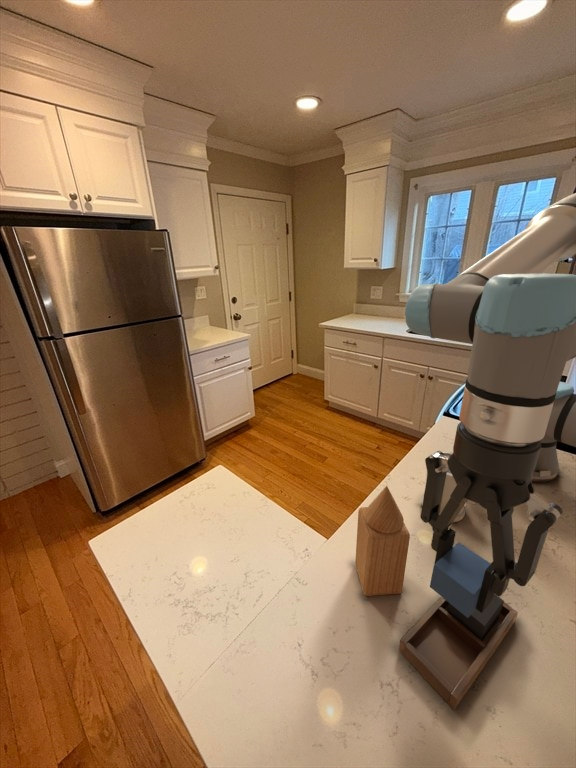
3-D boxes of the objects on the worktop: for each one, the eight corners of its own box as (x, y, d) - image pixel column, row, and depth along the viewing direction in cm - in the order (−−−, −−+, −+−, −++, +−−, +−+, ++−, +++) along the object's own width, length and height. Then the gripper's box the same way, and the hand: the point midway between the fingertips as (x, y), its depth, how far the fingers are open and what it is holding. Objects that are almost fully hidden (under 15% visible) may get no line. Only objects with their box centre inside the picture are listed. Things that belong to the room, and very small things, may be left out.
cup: (459, 494, 75) (468, 450, 71) (481, 523, 67) (492, 476, 62) (414, 495, 75) (420, 451, 71) (431, 525, 67) (438, 477, 63)
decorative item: (364, 598, 53) (371, 501, 46) (354, 562, 59) (359, 473, 52) (403, 595, 53) (417, 498, 46) (389, 560, 59) (399, 470, 52)
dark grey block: (465, 593, 53) (470, 575, 51) (498, 618, 49) (504, 600, 48) (446, 615, 50) (449, 597, 48) (479, 644, 46) (484, 626, 44)
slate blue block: (453, 563, 45) (458, 541, 44) (491, 590, 41) (497, 567, 40) (429, 586, 42) (433, 564, 41) (467, 618, 38) (474, 595, 37)
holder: (461, 581, 55) (463, 572, 54) (515, 621, 49) (518, 611, 48) (398, 649, 46) (399, 640, 45) (454, 710, 40) (457, 700, 39)
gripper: (402, 410, 38) (386, 554, 47) (602, 489, 25) (529, 673, 33) (437, 394, 42) (416, 530, 51) (626, 455, 29) (555, 627, 37)
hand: (461, 586), depth 42 cm, fingers closed on slate blue block, 5 cm apart
